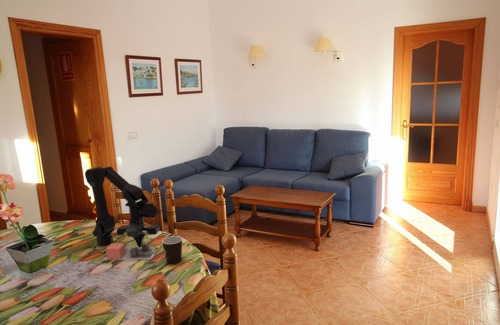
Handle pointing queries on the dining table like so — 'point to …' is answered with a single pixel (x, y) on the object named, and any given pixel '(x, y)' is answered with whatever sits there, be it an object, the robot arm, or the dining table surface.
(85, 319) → the dining table surface
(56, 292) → the dining table surface
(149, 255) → the breaker panel
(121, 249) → the cap
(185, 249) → the dining table surface
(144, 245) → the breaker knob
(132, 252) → the block
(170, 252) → the coffee mug
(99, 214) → the robot arm
